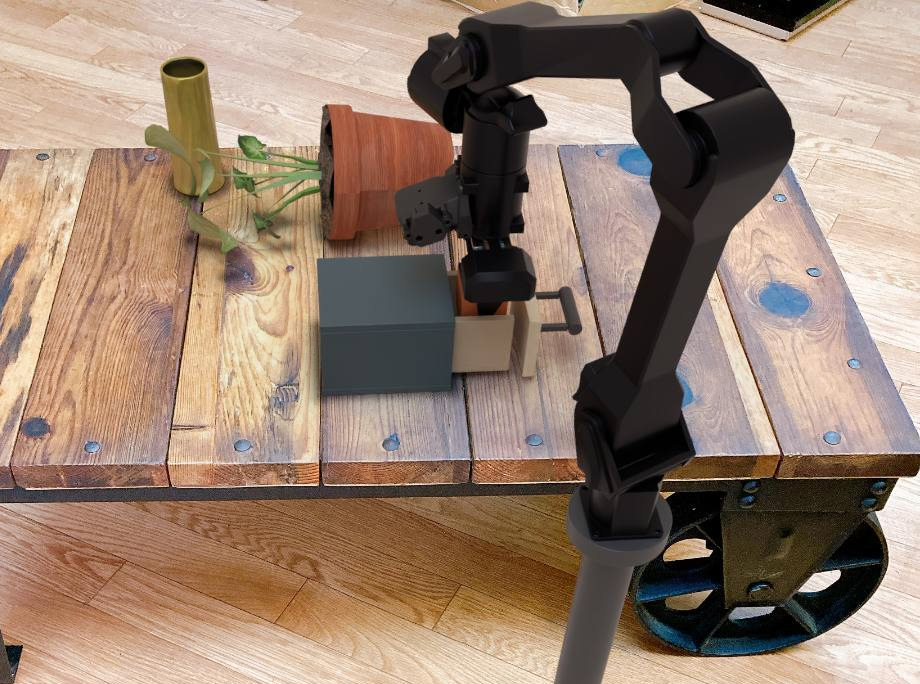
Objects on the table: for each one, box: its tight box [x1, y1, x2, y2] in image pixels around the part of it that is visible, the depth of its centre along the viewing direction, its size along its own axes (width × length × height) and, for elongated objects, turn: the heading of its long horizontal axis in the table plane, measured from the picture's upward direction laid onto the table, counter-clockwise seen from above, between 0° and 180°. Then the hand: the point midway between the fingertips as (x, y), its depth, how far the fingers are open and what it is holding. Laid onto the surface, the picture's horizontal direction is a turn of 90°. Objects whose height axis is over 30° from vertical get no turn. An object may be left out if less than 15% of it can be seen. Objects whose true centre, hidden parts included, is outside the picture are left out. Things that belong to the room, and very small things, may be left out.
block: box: [456, 261, 509, 317], centre depth 107 cm, size 4×4×4 cm
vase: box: [159, 55, 226, 197], centre depth 127 cm, size 6×6×14 cm
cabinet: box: [316, 253, 455, 397], centre depth 109 cm, size 13×11×9 cm
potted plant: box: [144, 103, 455, 255], centre depth 121 cm, size 16×15×35 cm
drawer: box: [447, 270, 584, 378], centre depth 109 cm, size 16×9×7 cm, turn 94°
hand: (481, 303), depth 108 cm, fingers closed on block, 4 cm apart
